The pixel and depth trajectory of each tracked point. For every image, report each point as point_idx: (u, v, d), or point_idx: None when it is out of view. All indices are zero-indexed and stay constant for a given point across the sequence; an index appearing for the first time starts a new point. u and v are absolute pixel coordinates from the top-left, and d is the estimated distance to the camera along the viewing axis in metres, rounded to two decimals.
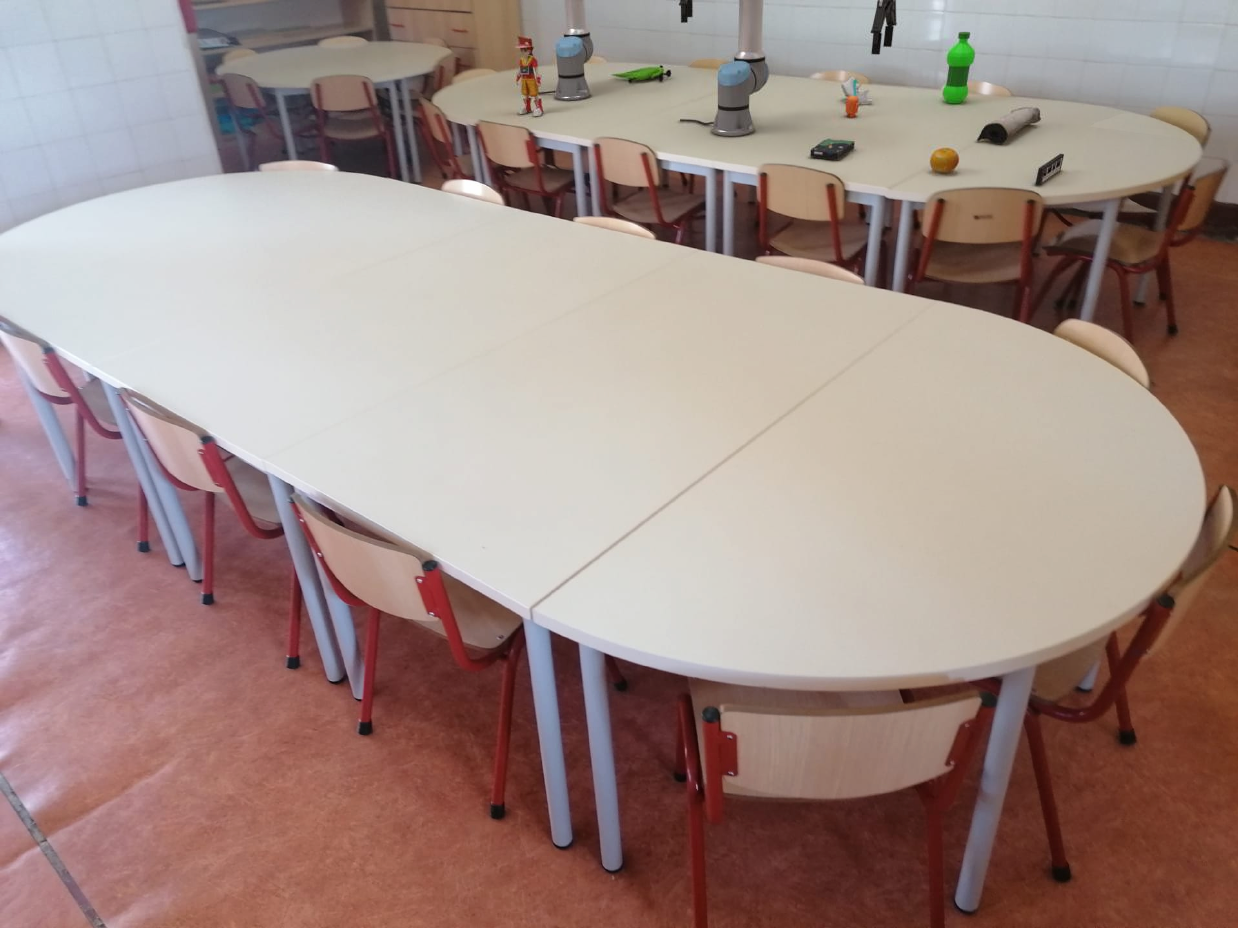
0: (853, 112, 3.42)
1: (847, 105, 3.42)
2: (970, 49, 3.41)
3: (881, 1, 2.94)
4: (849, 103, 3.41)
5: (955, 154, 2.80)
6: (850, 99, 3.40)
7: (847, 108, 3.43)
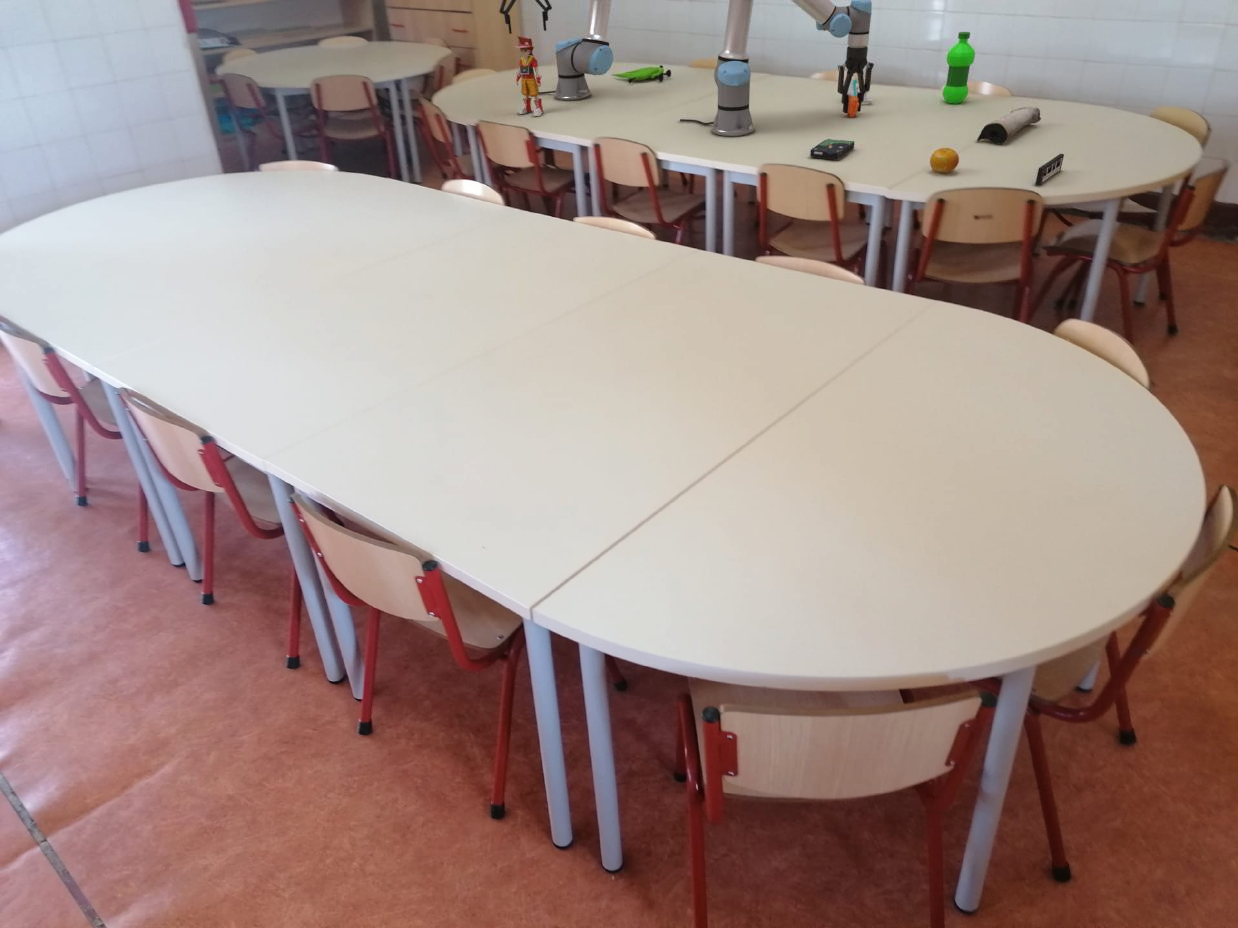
0: (853, 112, 3.42)
1: None
2: (970, 49, 3.41)
3: None
4: (849, 103, 3.41)
5: (955, 154, 2.80)
6: (850, 99, 3.40)
7: None
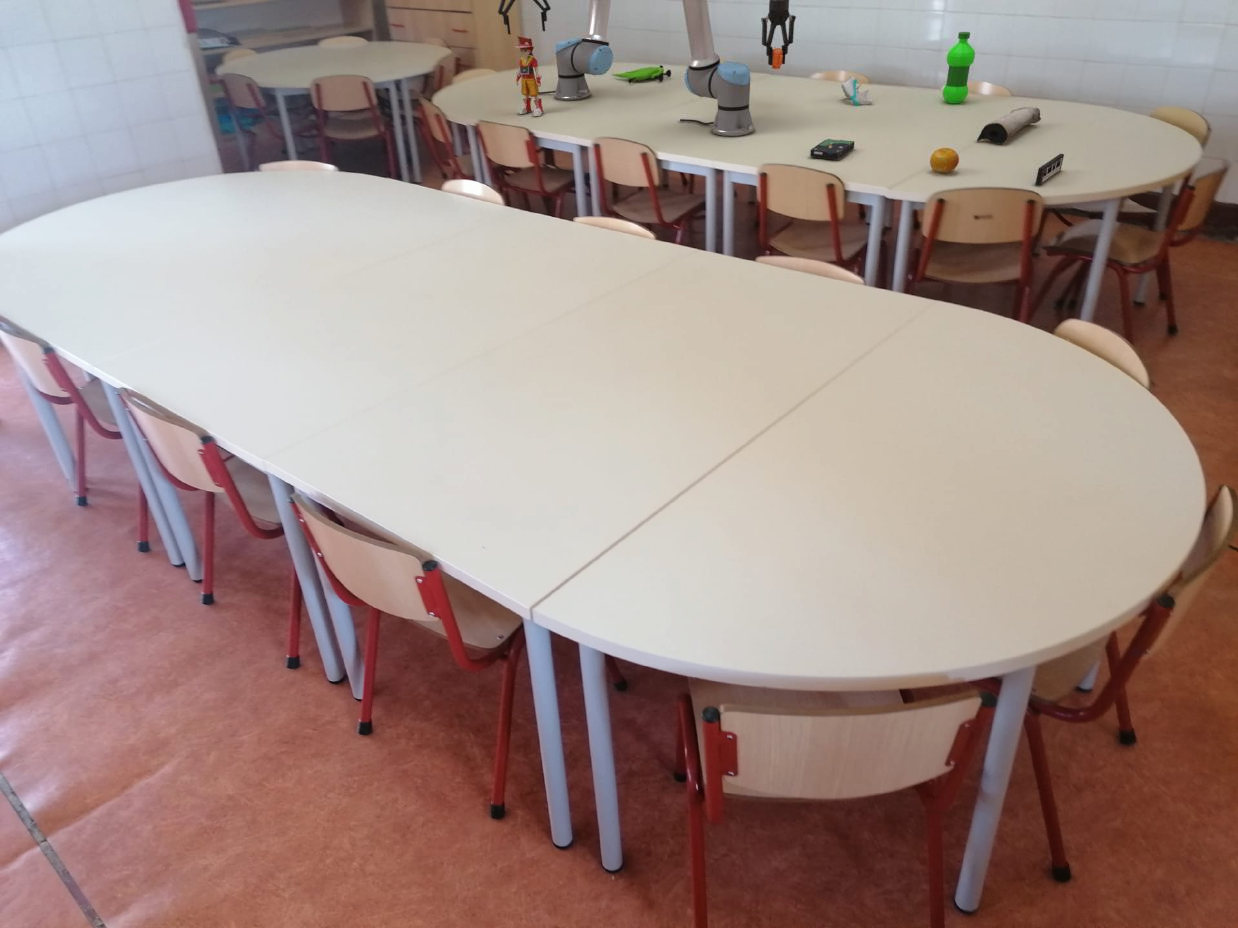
0: (777, 64, 3.54)
1: (772, 57, 3.54)
2: (970, 49, 3.41)
3: None
4: (774, 56, 3.53)
5: (955, 154, 2.80)
6: (774, 51, 3.52)
7: (772, 60, 3.54)
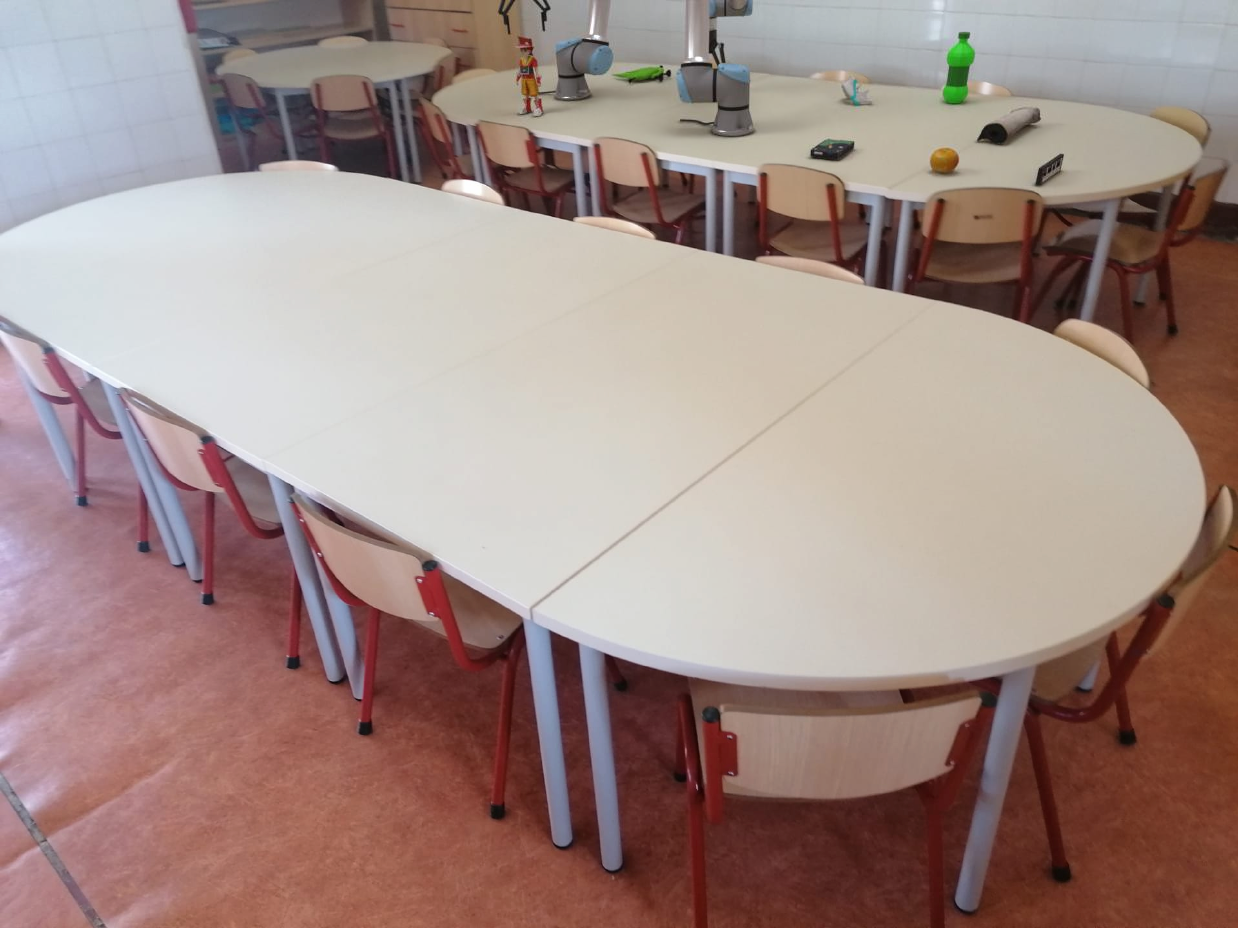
0: None
1: None
2: (970, 49, 3.41)
3: None
4: None
5: (955, 154, 2.80)
6: None
7: None
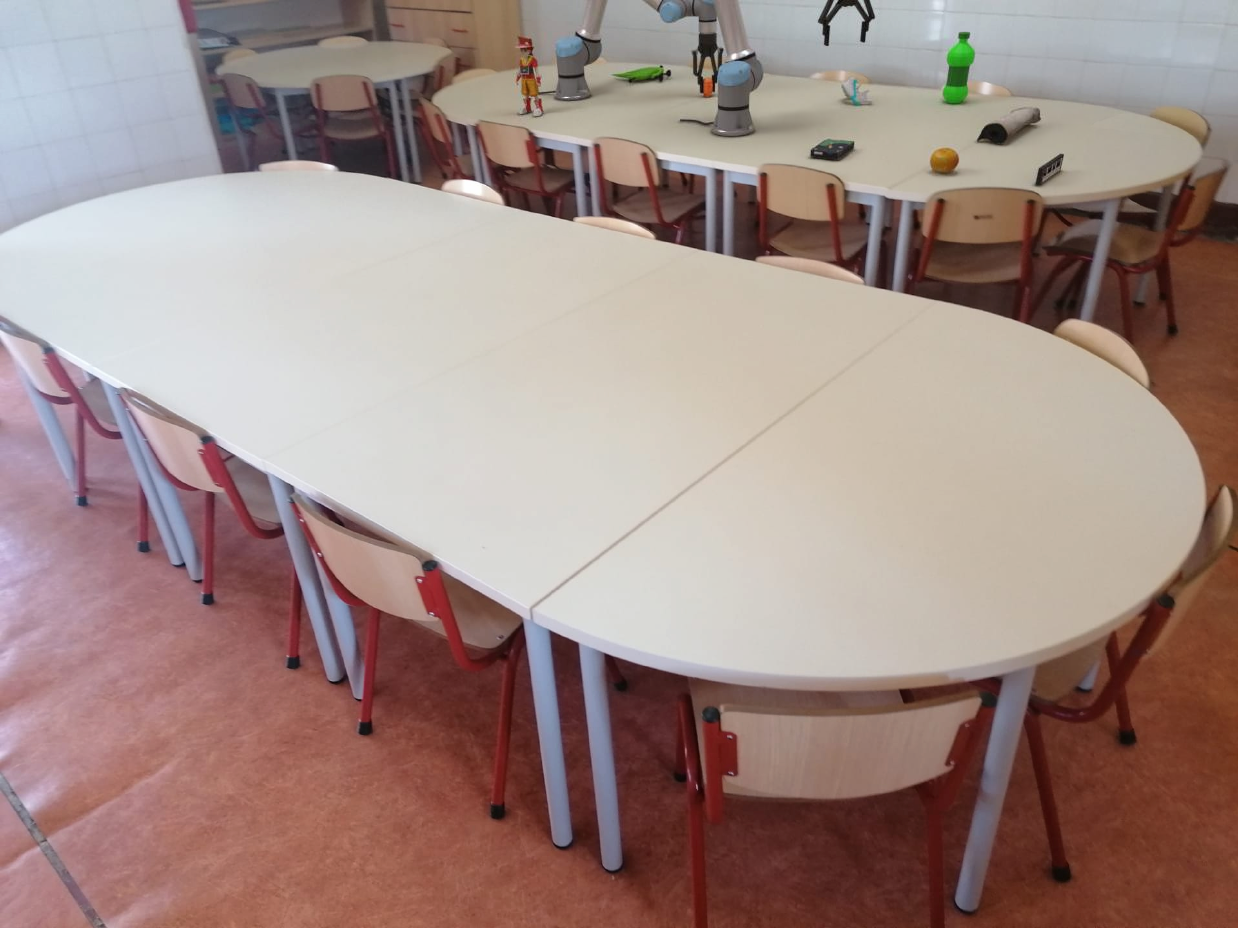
0: (708, 92, 3.81)
1: None
2: (970, 49, 3.41)
3: None
4: (704, 85, 3.80)
5: (955, 154, 2.80)
6: (704, 81, 3.79)
7: (703, 89, 3.81)
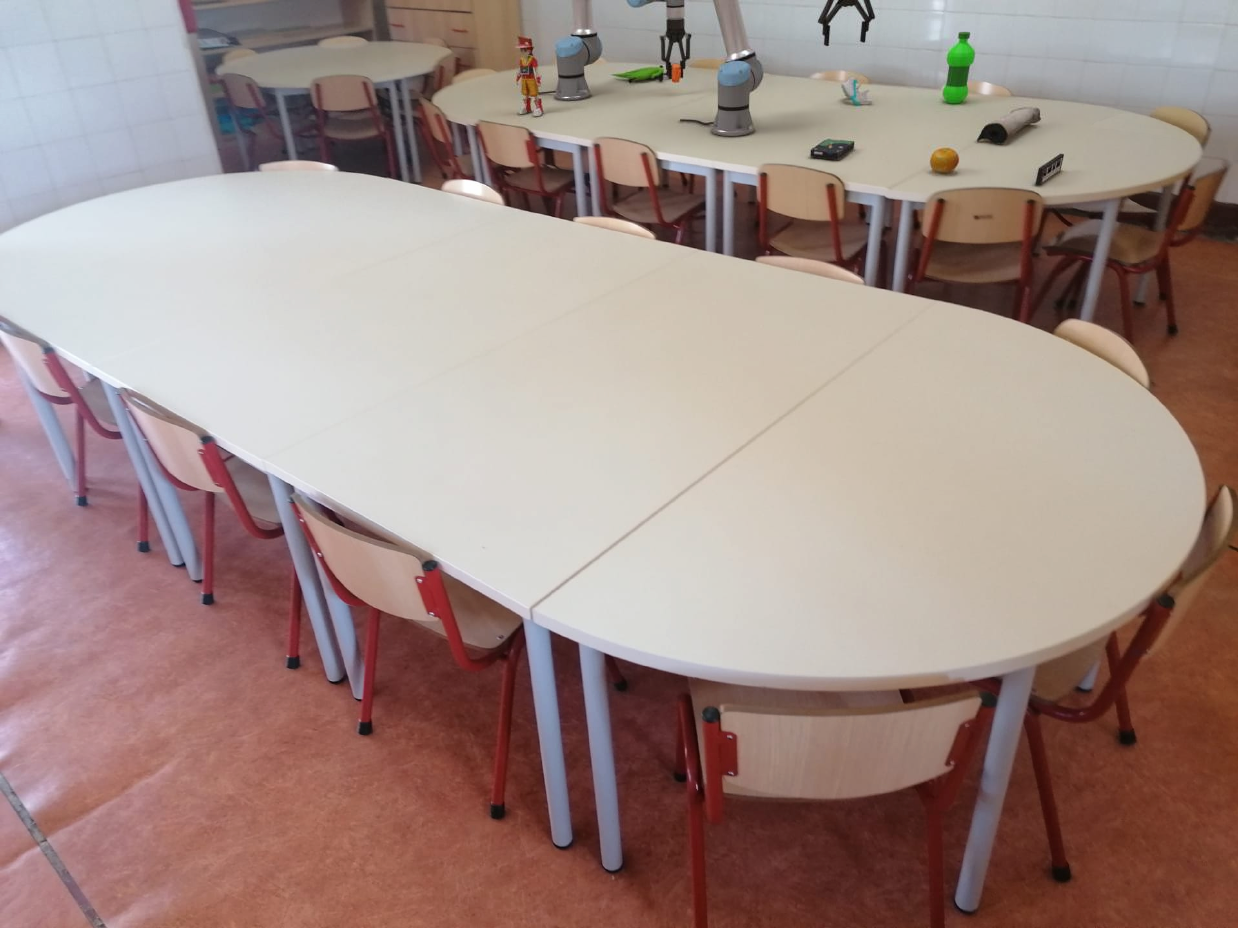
0: (676, 78, 3.83)
1: (671, 72, 3.82)
2: (970, 49, 3.41)
3: None
4: (672, 70, 3.81)
5: (955, 154, 2.80)
6: (673, 66, 3.81)
7: (671, 74, 3.83)
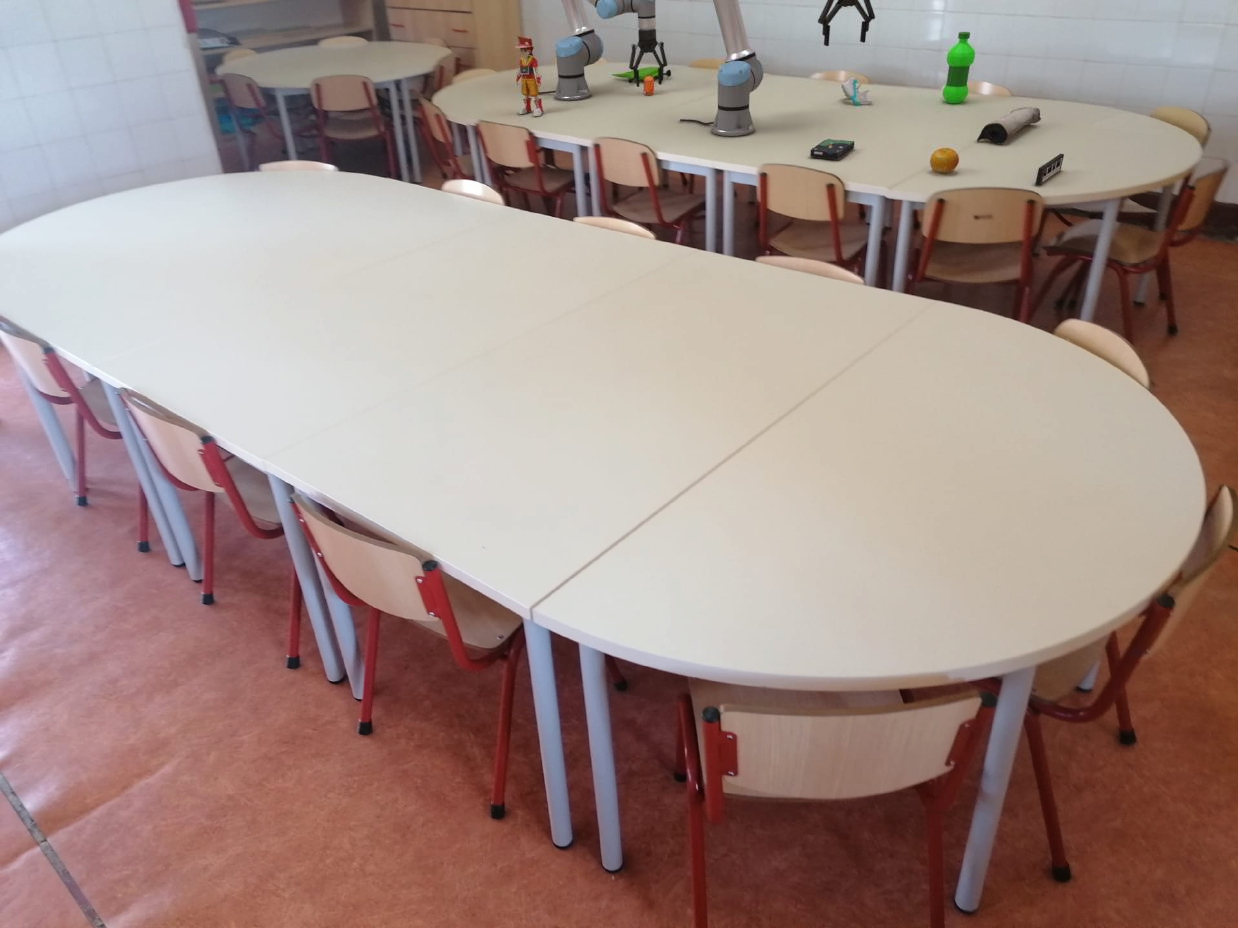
0: (649, 91, 3.90)
1: (644, 84, 3.89)
2: (970, 49, 3.41)
3: None
4: (645, 83, 3.88)
5: (955, 154, 2.80)
6: (646, 79, 3.88)
7: (644, 87, 3.90)
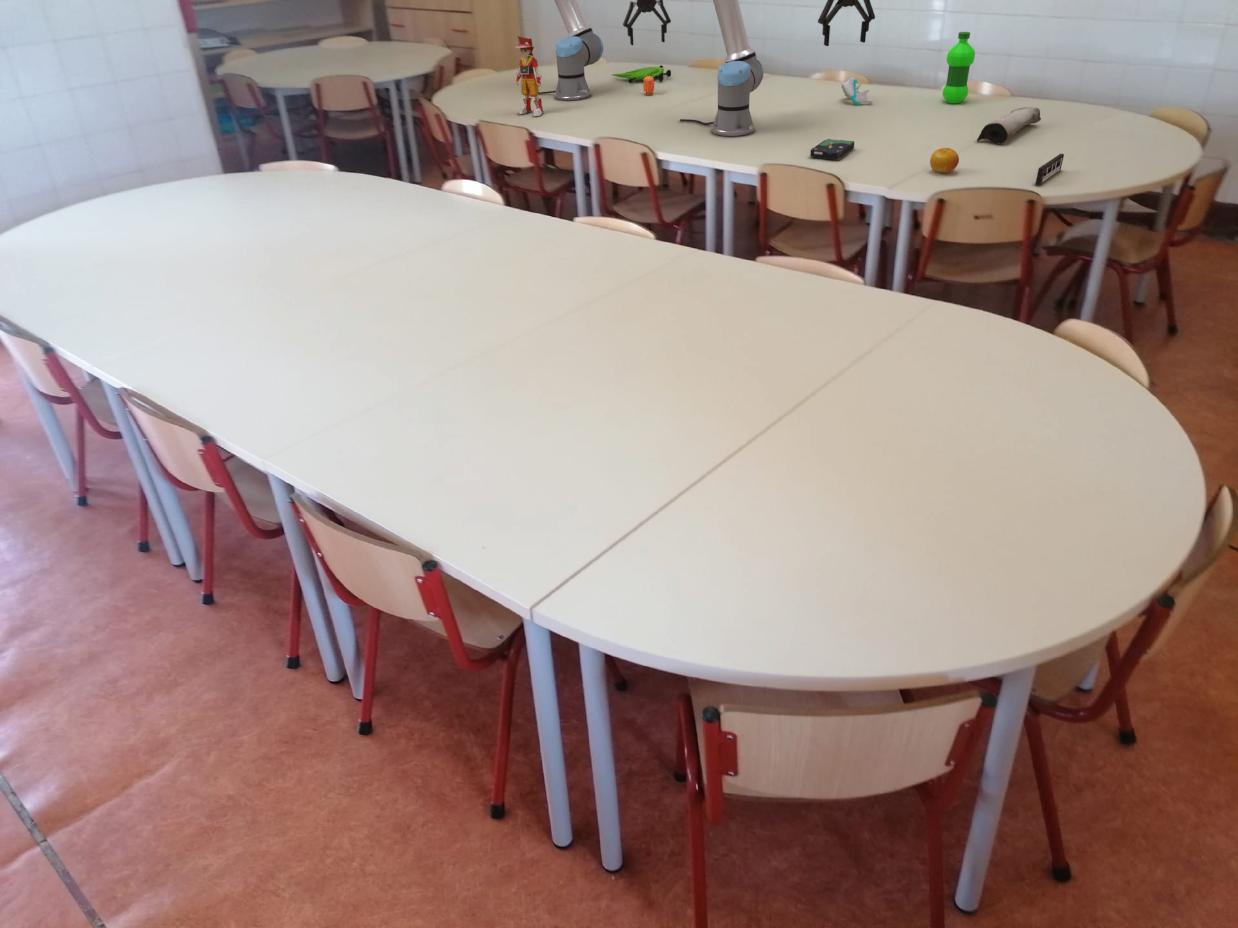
0: (649, 91, 3.90)
1: (644, 84, 3.89)
2: (970, 49, 3.41)
3: None
4: (645, 83, 3.88)
5: (955, 154, 2.80)
6: (646, 79, 3.88)
7: (644, 87, 3.90)
